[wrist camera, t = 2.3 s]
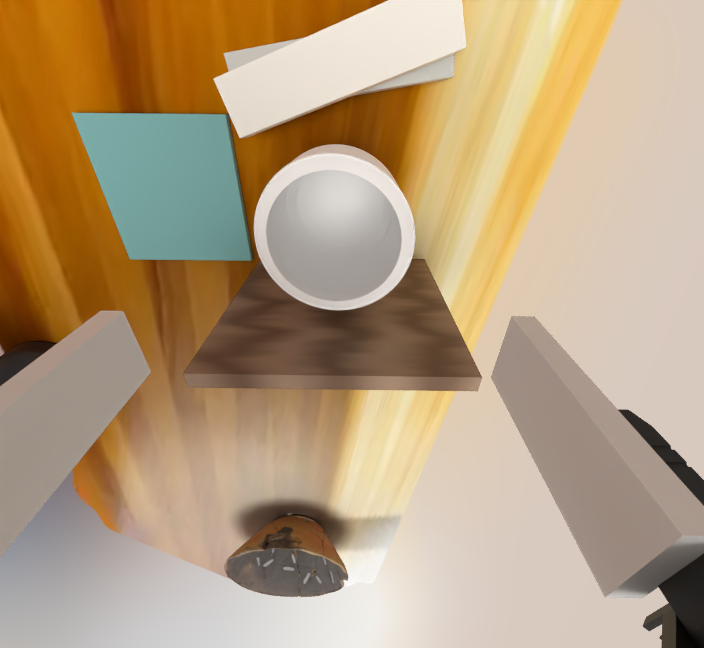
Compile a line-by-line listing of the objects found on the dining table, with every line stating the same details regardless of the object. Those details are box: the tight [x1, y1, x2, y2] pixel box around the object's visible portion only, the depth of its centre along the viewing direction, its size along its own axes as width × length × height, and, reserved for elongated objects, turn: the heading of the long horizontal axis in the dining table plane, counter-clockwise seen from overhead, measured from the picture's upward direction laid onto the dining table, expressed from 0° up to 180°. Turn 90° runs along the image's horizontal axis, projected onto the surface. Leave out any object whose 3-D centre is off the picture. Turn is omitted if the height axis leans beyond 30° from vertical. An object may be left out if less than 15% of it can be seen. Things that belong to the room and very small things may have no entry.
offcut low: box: [224, 38, 455, 96], centre depth 26 cm, size 18×4×3 cm, turn 98°
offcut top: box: [214, 0, 466, 138], centre depth 24 cm, size 18×4×3 cm, turn 108°
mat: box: [72, 113, 253, 261], centre depth 33 cm, size 14×14×1 cm
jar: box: [254, 144, 415, 310], centre depth 27 cm, size 11×10×15 cm
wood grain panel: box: [183, 259, 482, 391], centre depth 30 cm, size 19×7×20 cm, turn 90°
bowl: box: [224, 515, 348, 597], centre depth 68 cm, size 25×25×10 cm
